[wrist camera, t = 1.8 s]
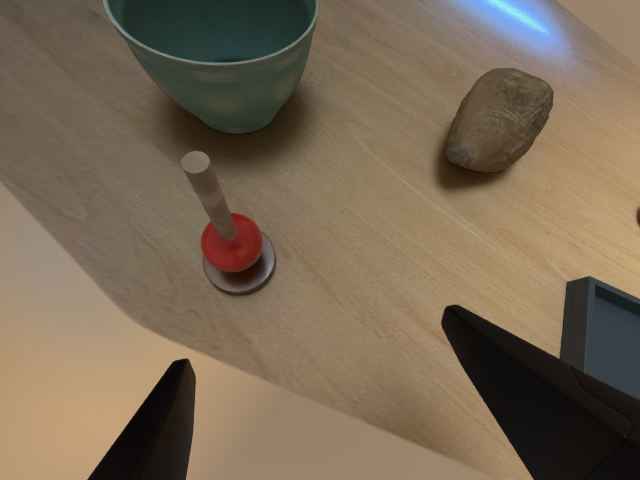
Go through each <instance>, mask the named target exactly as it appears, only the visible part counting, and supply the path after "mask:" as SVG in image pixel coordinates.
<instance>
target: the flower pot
mask: <svg viewBox="0 0 640 480" xmlns="http://www.w3.org/2000/svg"><path fill="white" fill-rule="evenodd" d="M103 3H104V7H105V10H106V12H107V14H108V16H109V18H110V20H111V21H112V23H113V25H114V26H115V28H116V30H117V31H118V32H119V34H120V35H121V36H122V38H123V39H124V40H125V41H126V42H127V43H128V45H129V47H130V49H131V51H132V52H133V54H134V56H135V57H136V58H137V60H138V61H139V63H140V64H141V66H142V67H143V69H144V70H145V71H146V72H147V74H148V75H149V76H150V77H151V79H152V80H153V81H154V82H155V83H156V84H157V85H158V86H159V88H160V89H161V90H162V91H163V92H165V93H166V94H167V95H168V96H169V97H170V98H171V99H172V100H174V101H175V102H176V103H178V104H179V105H180V106H182V107H183V108H184V109H186V110H187V111H189V112H191V113H192V114H194V115H196V116H198V117H199V118H200V119H201V120H202V121H203V122H204V123H205V124H207V125H208V126H210V127H212V128H214V129H216V130H218V131H221V132H225V133H231V134H244V133H250V132H254V131H257V130H259V129H261V128H263V127H265V126H266V125H268V124H269V123H270V122H271V121H272V120H273V119H274V118H275V116H276V115H277V113H278V110H279V109H280V108H281V107H282V106H283V105H284V103H285V102H286V101H287V100H288V99H289V97H290V96H291V95H292V93H293V91H294V90H295V88H296V86H297V85H298V83H299V80H300V78H301V76H302V73H303V71H304V68H305V65H306V62H307V58H308V55H309V51H310V47H311V41H312V35H313V32H314V29H315V26H316V22H317V16H318V11H319V1H318V0H103Z"/></svg>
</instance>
